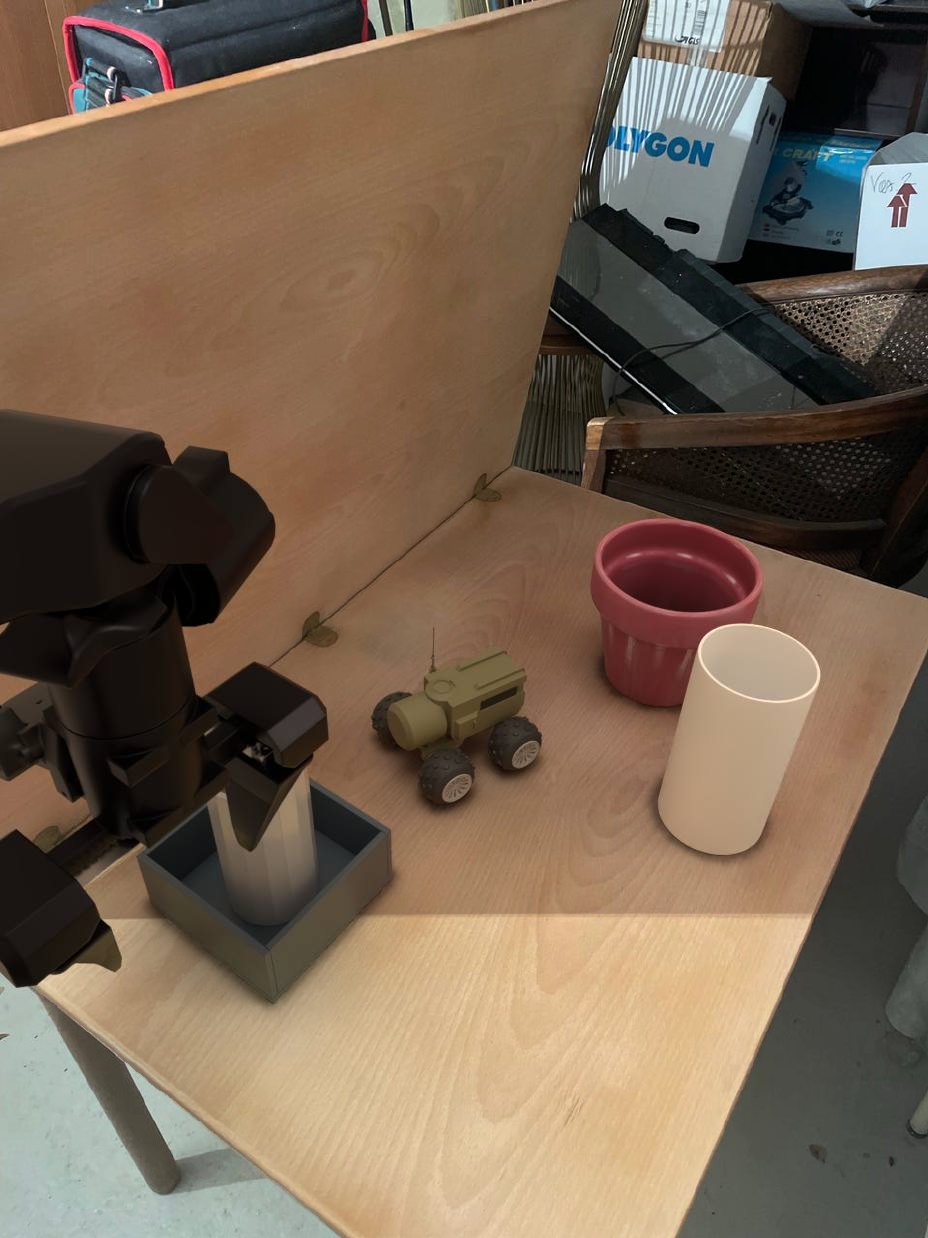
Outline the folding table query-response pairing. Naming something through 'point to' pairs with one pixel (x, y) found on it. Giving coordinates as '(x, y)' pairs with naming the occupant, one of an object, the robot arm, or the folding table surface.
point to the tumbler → (270, 859)
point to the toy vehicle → (461, 720)
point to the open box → (276, 954)
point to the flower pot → (667, 601)
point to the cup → (735, 736)
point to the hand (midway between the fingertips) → (183, 902)
